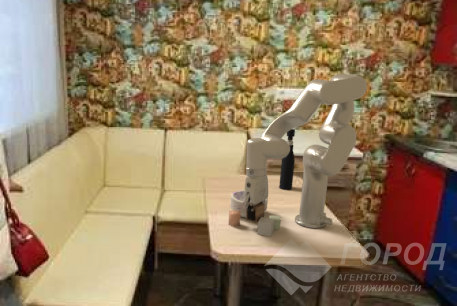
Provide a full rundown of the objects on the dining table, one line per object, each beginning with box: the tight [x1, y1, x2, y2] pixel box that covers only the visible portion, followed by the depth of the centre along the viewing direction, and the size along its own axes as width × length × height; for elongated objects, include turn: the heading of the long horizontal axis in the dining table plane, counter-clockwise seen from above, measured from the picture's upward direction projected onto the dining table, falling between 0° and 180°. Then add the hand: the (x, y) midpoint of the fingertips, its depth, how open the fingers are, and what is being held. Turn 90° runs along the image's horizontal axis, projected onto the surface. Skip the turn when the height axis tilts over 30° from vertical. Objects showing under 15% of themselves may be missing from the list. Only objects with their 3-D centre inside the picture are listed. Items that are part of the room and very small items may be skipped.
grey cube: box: [256, 216, 275, 237], centre depth 156 cm, size 5×5×5 cm
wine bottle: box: [278, 128, 296, 191], centre depth 209 cm, size 6×6×30 cm
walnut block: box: [245, 203, 266, 224], centre depth 160 cm, size 5×5×6 cm
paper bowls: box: [229, 189, 269, 219], centre depth 173 cm, size 15×15×8 cm
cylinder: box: [228, 209, 241, 228], centre depth 162 cm, size 4×4×5 cm
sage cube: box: [268, 215, 281, 230], centre depth 162 cm, size 4×4×4 cm
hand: (255, 217), depth 160 cm, fingers closed on walnut block, 5 cm apart
